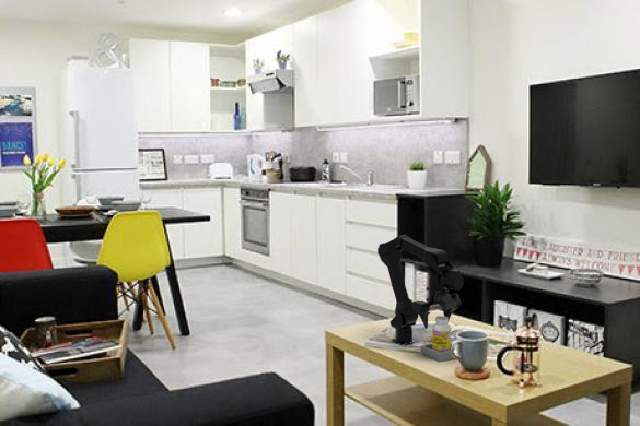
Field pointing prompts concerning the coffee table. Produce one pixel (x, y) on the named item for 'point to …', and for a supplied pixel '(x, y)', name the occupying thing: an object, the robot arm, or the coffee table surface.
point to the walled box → (435, 353)
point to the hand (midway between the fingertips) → (436, 326)
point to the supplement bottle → (441, 335)
